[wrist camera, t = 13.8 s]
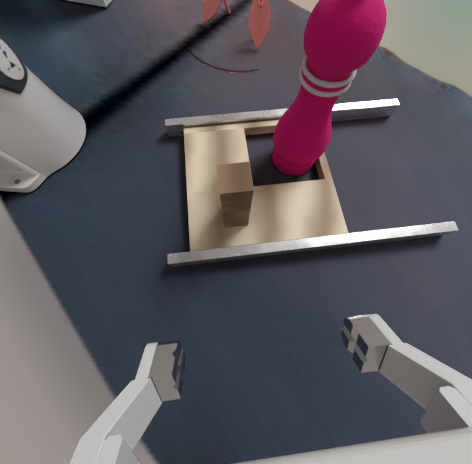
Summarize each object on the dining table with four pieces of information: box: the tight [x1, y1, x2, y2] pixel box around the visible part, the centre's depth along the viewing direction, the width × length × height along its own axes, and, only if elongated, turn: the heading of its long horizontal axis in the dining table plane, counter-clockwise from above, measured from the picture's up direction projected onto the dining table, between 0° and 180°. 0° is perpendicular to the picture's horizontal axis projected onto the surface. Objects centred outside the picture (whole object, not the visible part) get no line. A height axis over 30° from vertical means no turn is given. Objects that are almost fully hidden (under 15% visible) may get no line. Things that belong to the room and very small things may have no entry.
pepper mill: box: [272, 0, 386, 176], centre depth 23 cm, size 7×7×20 cm
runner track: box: [165, 99, 458, 267], centre depth 30 cm, size 36×22×2 cm, turn 97°
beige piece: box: [184, 120, 348, 251], centre depth 26 cm, size 20×19×10 cm
